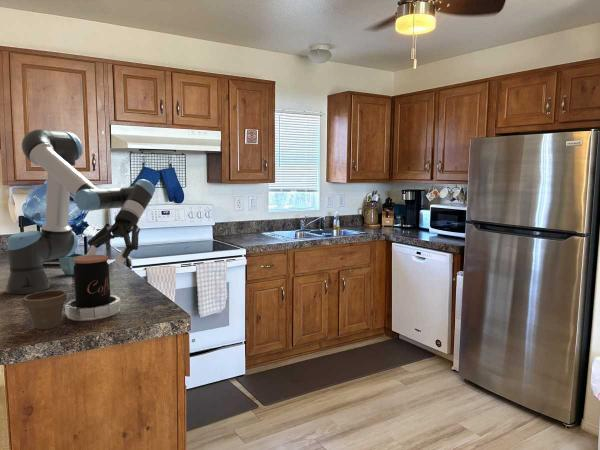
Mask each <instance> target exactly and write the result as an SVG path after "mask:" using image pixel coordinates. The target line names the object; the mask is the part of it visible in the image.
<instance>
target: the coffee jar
mask: <svg viewBox="0 0 600 450" xmlns="http://www.w3.org/2000/svg"><path fill="white" fill-rule="evenodd" d="M108 260H109V255H105V254H95V255H88V256H81V257H76V258H74V259H73V262H74V263H75V265H74V275H73V280H74V294H75V295H74V296H75V297H74V298H75V299H76V307H80V308H85V307H96V306H102V305H107V304H109V303H111V283H110V282H111V281H110V280H111V279H110V265H109V262H108Z"/></svg>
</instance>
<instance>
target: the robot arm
mask: <svg viewBox="0 0 600 450" xmlns="http://www.w3.org/2000/svg"><path fill="white" fill-rule="evenodd" d="M21 150H22V153H23V155H24V156H25V158H26V159H27V160H29V161H30V163H32V165H36V166H39V167H40V168H41V169H43V170H44V171H45V172H46V173H47V174H46V175H47V179H46V180H47V181H46V201H45V202H46V205H45V208H46V209H45V223H44V224H43V225H42V226H41V228H40V230H41V231H39V230H28V231H21V232H17V233H14V234H12V235H10V236H9V237H8V238H7V251H8V263H9V275H8V279H7V284H6V286H5V289H6V294H8V295H29V294H33V293H37V292H42V291H47V290H49V289H50V287H51V286H50V281H49V279H48V277H47V274H46V273H45V270H44V262H46V261H51V260H57V259H58V260H59V258H64V257H67V256H70V255H72V254H75V251H76V250H77V247H78V244H79V243H78V237H77V234H76V233H75V232H74V230H73V228H72V227H71V225H69V215H70V195H72V196H74V204H76V207H77V209H79V210H81V211H91V212H92V211H98V210H107V209H108V210H109V209H120V210H119V211H118V213H117V214H116V216H115V218H114V223H113V224H110V223H106V224H105V225H104V226H103V227H102V228H101V230H99V231H98V232H96V234H95V235H93V237H91V238H90V239H89V240H88V241H87V245H88V246H89V248H88V249H87V251H86V254H85V255H86V256H88V255H97V253H98V251H99V248H100V247H101V246H103V245H104V244H106V243H107V242H109V241H110V240H112V239H115V238H117V239H118V238H122V239H123V240H124V241H123V242H124V247H123V246H122V249H121V251H120V253H119V254H118V256H117V258H116V260H115V261H114V264H115V265H116V266H117V268H122V266H123V265H124V263H125V260H126V259H127V258H129V256H130V254H131V252H133V251H137V250H138V249H139V235H140V234H139V233H140V231H141V228H140V227H139V226H138V223H139V220H140V219H141V218H142V216H143V214H144V212H145V210H146V209H147V207H148V205H149V204H150V202H151V200H152V198H153V196H154V194H155V192H156V188H155V185H154V184H153V183H152V182H151V181H149V180H147V179H144V178H143V179H138V180H137V181H136V182H135V183H134V185H132V186H128V187H115V188H114V187H111V188H98V187H96V185H94V184H93V183H92V182H91V181H90V180H89V179H87V178H86V177H85V176H84V175H83V174H82V173H80V172H79V171H78V170H77V169H76V168H74V167H75V166H76V161H77V160H79V159H80V158H81V157H82V155H83V145H82V142H81V140H80V139H79V137H78V136H77V135H76V134H74V133H73V132H69V131H65V130H64V131H63V130H49V129H48V130H47V129H35V130H34V129H33V130H30V131H29V132H28V133H26V134H25V136H24V137H23V138H22V141H21ZM130 233H131V237H130Z"/></svg>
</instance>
